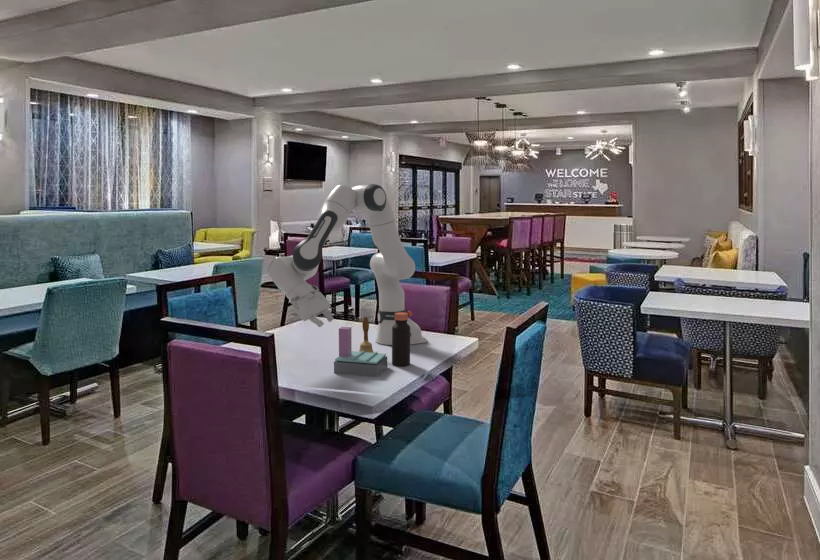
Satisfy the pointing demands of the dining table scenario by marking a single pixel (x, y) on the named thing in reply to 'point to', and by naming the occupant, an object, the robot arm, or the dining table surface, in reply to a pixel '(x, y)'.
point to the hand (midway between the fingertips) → (327, 323)
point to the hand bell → (366, 338)
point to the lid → (350, 355)
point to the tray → (360, 368)
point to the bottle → (401, 340)
